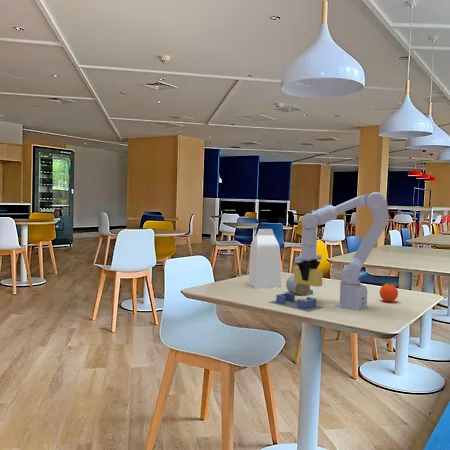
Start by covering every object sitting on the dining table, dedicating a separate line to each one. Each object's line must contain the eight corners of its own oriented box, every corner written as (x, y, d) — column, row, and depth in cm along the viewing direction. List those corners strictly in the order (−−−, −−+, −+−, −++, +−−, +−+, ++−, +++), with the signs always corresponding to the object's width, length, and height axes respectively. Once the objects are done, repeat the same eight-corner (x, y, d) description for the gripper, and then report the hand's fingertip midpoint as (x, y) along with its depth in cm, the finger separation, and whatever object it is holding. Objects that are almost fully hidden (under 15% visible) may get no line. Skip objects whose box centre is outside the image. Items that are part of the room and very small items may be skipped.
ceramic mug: (296, 297, 187) (296, 278, 186) (285, 292, 194) (286, 275, 194) (317, 295, 191) (318, 277, 191) (306, 291, 199) (307, 274, 198)
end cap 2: (316, 306, 169) (316, 298, 169) (305, 309, 165) (306, 301, 165) (307, 304, 172) (307, 297, 172) (297, 307, 167) (297, 299, 167)
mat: (324, 308, 169) (324, 307, 168) (308, 312, 162) (308, 311, 162) (284, 299, 182) (284, 298, 182) (267, 302, 175) (267, 302, 175)
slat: (322, 285, 174) (322, 270, 173) (317, 286, 171) (317, 270, 171) (298, 281, 182) (299, 266, 181) (293, 282, 179) (294, 267, 179)
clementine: (373, 299, 185) (374, 282, 184) (387, 298, 187) (388, 281, 187) (387, 304, 177) (388, 285, 177) (401, 302, 180) (402, 284, 179)
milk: (255, 288, 202) (256, 230, 201) (248, 283, 213) (249, 228, 212) (281, 287, 205) (282, 230, 203) (272, 283, 216) (273, 228, 215)
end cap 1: (276, 302, 175) (276, 294, 174) (286, 300, 179) (286, 292, 179) (284, 304, 172) (284, 296, 172) (294, 302, 176) (294, 294, 176)
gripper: (311, 242, 183) (310, 276, 184) (288, 244, 173) (287, 280, 174) (326, 244, 178) (325, 278, 179) (303, 246, 168) (302, 283, 169)
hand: (307, 279), depth 176 cm, fingers closed on slat, 3 cm apart
